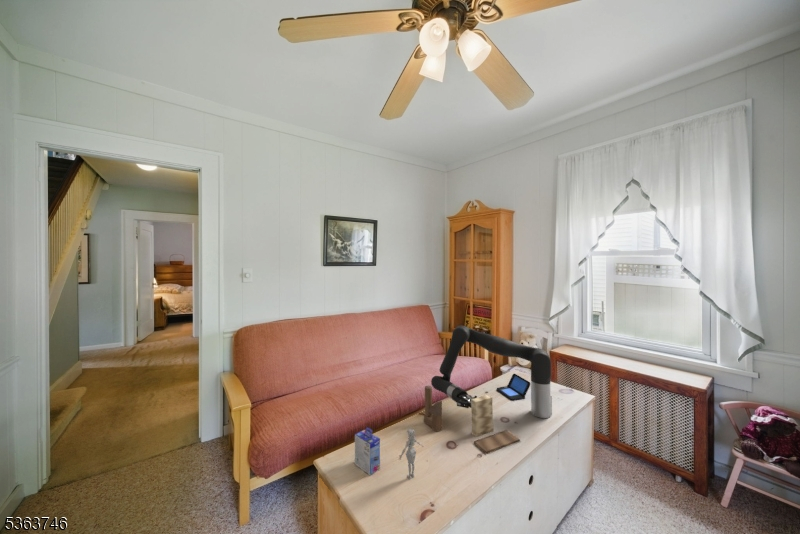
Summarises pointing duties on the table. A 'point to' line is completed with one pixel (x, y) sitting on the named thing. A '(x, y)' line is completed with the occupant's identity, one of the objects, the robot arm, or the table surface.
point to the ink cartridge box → (367, 451)
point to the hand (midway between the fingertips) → (478, 408)
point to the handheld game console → (515, 388)
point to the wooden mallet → (432, 411)
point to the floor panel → (496, 441)
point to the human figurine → (410, 451)
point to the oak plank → (482, 415)
